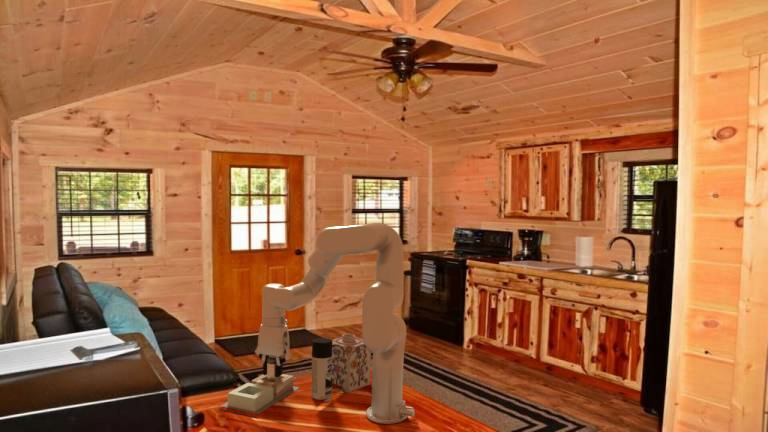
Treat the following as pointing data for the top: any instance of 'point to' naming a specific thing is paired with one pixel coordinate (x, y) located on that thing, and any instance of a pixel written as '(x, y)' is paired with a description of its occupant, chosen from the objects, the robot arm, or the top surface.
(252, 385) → the sage dock
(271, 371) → the steel pin
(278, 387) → the maple mount
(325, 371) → the spray can
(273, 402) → the base board
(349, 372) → the decorative jar
